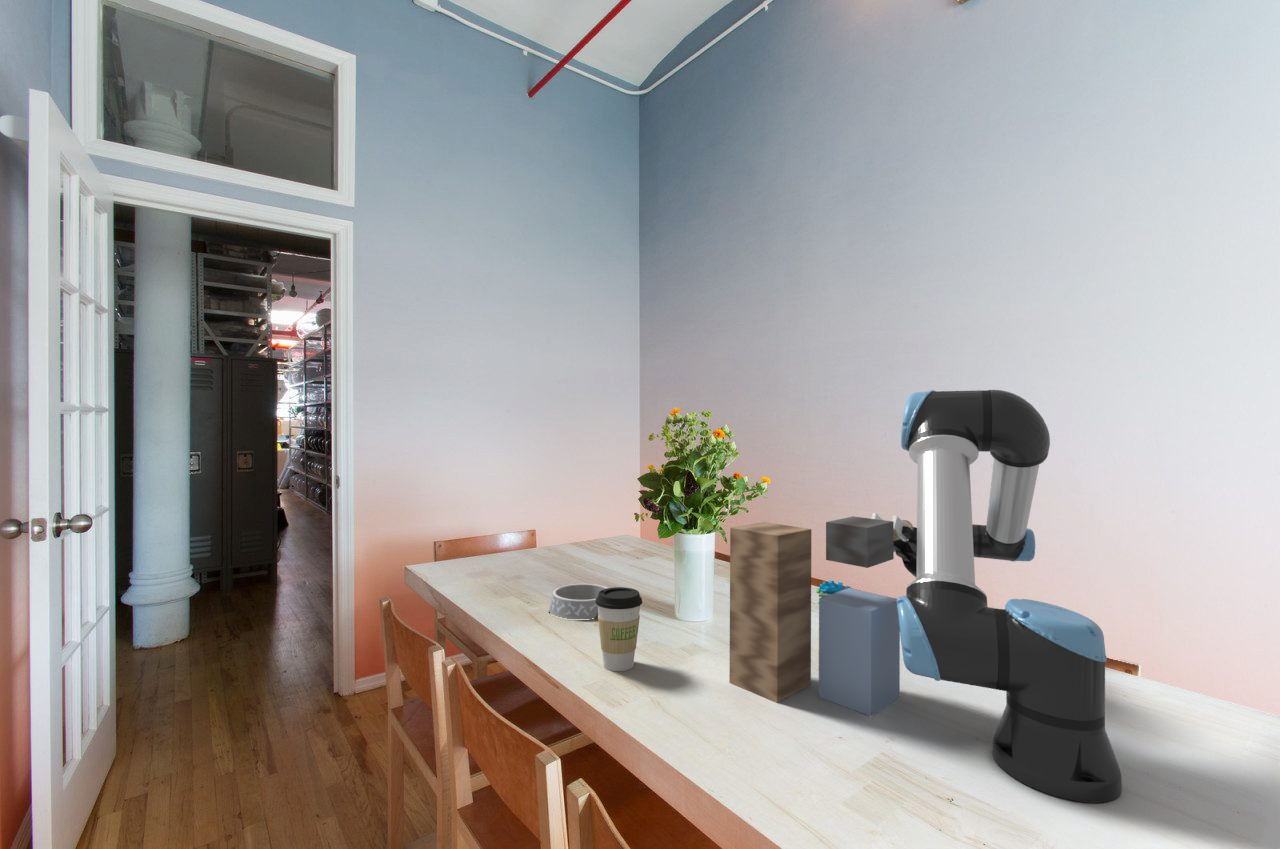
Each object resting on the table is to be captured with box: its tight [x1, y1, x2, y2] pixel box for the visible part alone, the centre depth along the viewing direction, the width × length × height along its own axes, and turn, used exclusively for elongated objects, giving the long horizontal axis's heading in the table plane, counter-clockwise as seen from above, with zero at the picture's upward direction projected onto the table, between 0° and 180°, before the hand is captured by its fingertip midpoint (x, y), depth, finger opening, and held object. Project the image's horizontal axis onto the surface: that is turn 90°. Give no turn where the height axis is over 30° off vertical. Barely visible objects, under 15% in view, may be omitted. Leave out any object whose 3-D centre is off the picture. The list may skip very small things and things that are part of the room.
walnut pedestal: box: [728, 521, 812, 704], centre depth 112 cm, size 11×11×30 cm
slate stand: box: [818, 587, 901, 717], centre depth 106 cm, size 10×11×18 cm
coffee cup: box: [595, 586, 643, 672], centre depth 120 cm, size 10×10×15 cm
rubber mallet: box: [825, 516, 914, 569], centre depth 112 cm, size 8×24×7 cm, turn 132°
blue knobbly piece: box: [816, 579, 852, 605], centre depth 161 cm, size 11×6×10 cm
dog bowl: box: [548, 583, 608, 619], centre depth 157 cm, size 17×18×5 cm
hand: (883, 520), depth 113 cm, fingers closed on rubber mallet, 3 cm apart
